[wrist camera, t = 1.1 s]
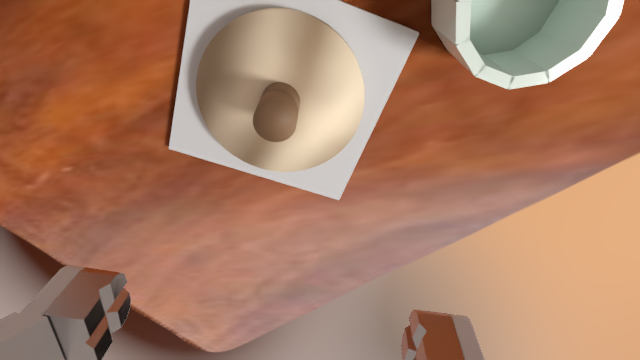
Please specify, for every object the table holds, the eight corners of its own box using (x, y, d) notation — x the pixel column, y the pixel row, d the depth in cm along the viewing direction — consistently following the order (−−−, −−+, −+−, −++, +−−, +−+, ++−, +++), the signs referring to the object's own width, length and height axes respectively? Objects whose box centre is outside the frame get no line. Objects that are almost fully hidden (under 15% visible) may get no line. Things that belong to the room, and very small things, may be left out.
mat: (170, 146, 32) (168, 148, 32) (200, -56, 24) (198, -56, 24) (338, 197, 35) (338, 200, 35) (418, 31, 27) (419, 33, 26)
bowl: (408, 35, 27) (427, 57, 22) (477, -111, 22) (520, -125, 17) (512, 77, 29) (551, 106, 24) (597, -52, 24) (668, -49, 19)
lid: (188, 139, 32) (167, 170, 27) (216, -22, 25) (194, -14, 21) (329, 183, 34) (330, 217, 30) (391, 45, 27) (403, 65, 23)
